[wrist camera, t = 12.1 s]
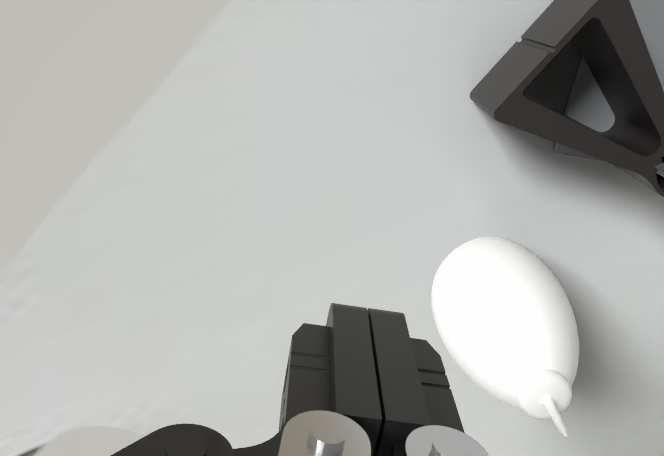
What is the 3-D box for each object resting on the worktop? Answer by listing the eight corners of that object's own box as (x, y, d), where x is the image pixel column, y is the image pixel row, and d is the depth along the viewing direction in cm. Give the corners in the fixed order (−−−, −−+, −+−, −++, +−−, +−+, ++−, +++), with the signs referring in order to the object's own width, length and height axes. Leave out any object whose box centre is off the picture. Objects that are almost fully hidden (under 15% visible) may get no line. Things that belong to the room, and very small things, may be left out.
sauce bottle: (551, 269, 45) (688, 442, 28) (464, 332, 46) (543, 530, 30) (487, 191, 42) (594, 329, 26) (397, 261, 44) (443, 432, 28)
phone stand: (618, -22, 31) (760, 129, 34) (573, -22, 37) (699, 108, 40) (491, 115, 34) (634, 244, 37) (467, 96, 39) (592, 210, 42)
